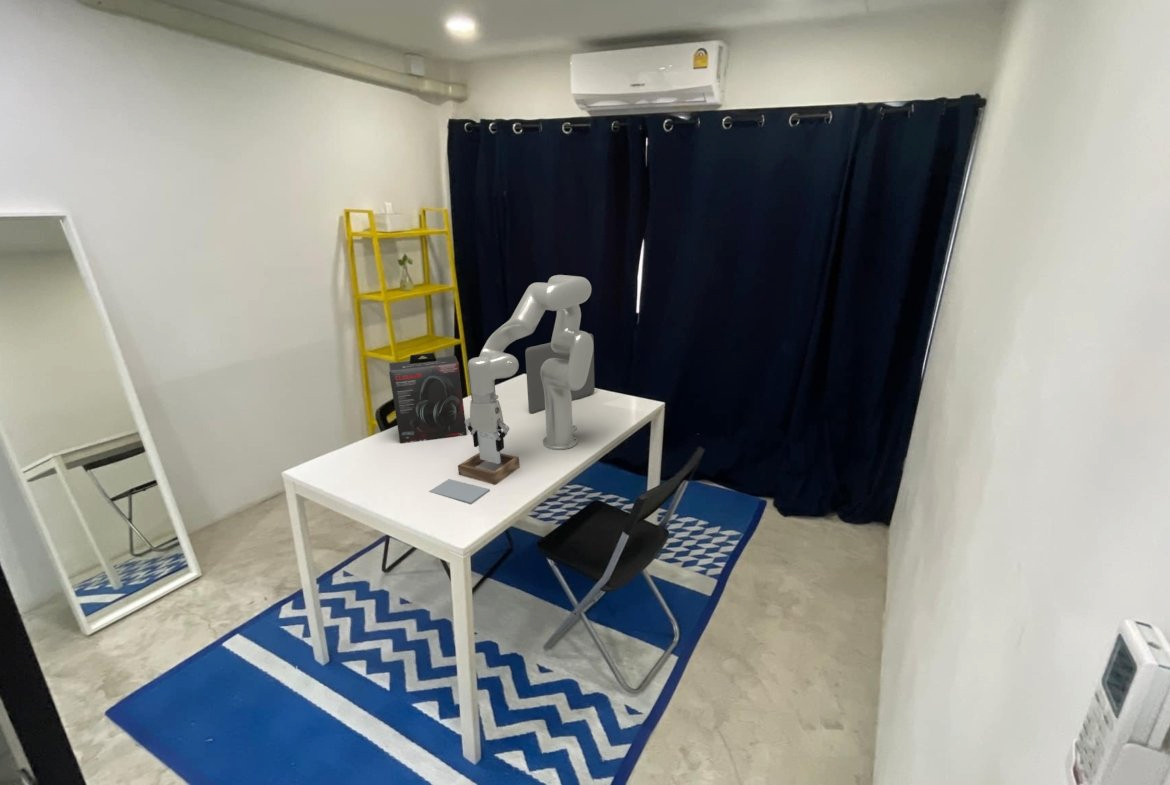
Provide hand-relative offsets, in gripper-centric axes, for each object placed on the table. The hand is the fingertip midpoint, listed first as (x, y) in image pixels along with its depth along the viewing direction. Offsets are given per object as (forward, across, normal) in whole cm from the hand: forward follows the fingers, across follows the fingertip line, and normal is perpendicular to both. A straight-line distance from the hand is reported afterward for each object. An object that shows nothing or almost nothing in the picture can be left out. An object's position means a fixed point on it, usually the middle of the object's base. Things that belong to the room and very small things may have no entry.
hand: (489, 447), depth 179 cm
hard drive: (+5, 0, 0) cm, 5 cm away
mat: (+8, 0, +16) cm, 18 cm away
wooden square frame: (+9, 0, +1) cm, 9 cm away
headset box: (+9, +38, -14) cm, 42 cm away
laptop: (+10, +24, -70) cm, 75 cm away
